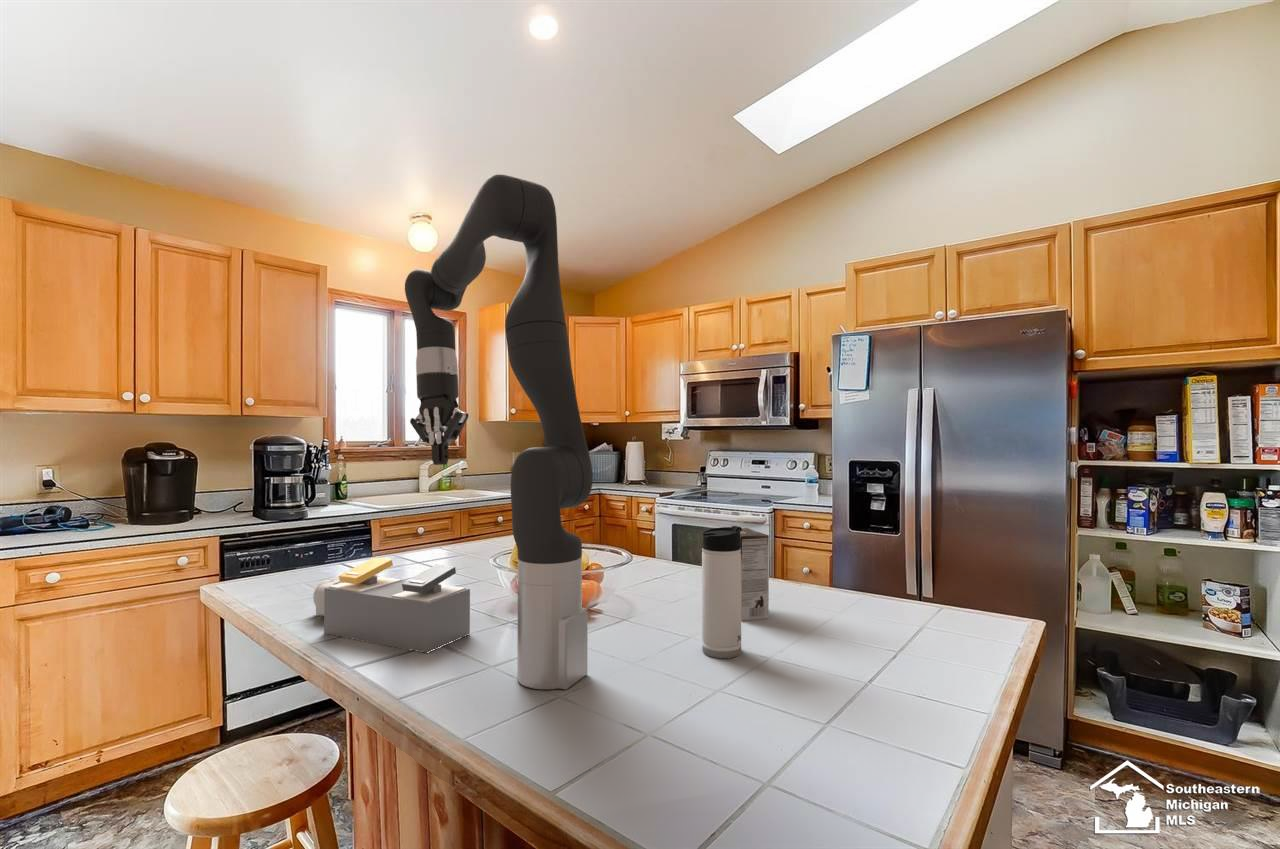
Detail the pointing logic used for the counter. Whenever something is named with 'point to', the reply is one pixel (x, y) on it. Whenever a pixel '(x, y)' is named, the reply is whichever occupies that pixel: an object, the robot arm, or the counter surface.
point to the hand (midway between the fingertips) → (440, 464)
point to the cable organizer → (319, 594)
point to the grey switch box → (397, 613)
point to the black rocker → (428, 578)
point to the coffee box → (754, 574)
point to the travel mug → (721, 592)
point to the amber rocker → (365, 570)
